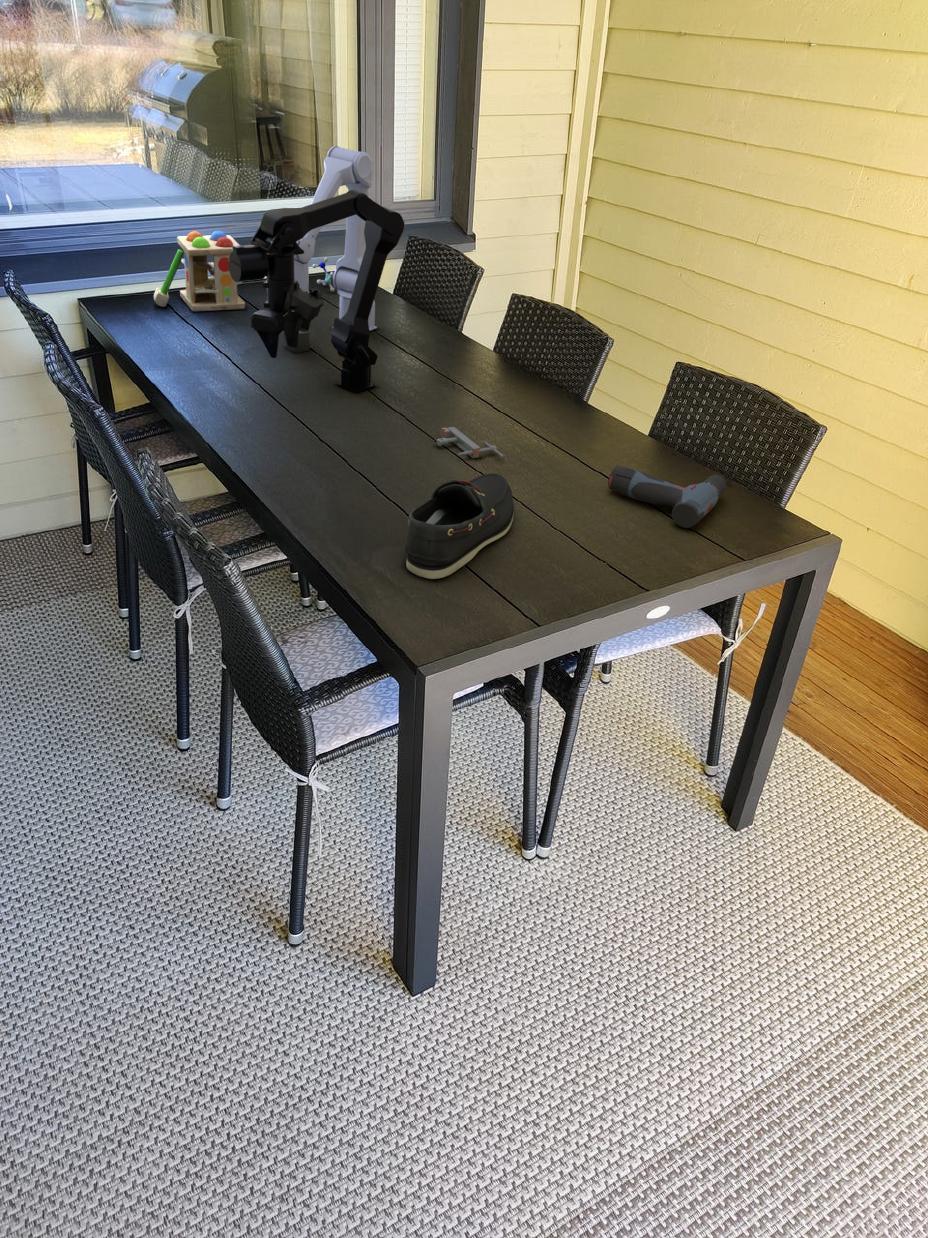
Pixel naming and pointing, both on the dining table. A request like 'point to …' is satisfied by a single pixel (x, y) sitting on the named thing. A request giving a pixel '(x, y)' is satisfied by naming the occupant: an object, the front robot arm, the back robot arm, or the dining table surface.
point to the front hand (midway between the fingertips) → (282, 350)
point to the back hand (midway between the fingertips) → (297, 342)
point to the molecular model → (328, 276)
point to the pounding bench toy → (204, 273)
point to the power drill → (669, 493)
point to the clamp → (464, 443)
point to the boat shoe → (457, 524)
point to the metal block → (301, 342)
